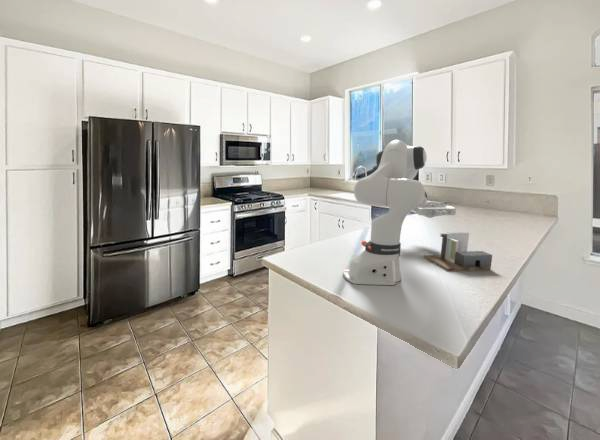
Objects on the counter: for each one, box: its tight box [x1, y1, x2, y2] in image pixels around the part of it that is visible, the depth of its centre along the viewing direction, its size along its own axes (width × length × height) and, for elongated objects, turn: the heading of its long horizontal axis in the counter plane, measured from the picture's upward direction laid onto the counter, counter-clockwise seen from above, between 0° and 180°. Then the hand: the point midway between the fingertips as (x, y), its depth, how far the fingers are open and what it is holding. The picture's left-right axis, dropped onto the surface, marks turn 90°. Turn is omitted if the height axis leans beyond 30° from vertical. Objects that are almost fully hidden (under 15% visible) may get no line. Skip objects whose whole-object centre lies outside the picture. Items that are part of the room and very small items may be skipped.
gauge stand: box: [423, 237, 493, 272], centre depth 143 cm, size 20×19×11 cm
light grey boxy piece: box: [439, 231, 470, 252], centre depth 143 cm, size 14×12×11 cm
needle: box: [440, 234, 447, 259], centre depth 145 cm, size 1×1×12 cm
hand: (444, 213), depth 158 cm, fingers closed
